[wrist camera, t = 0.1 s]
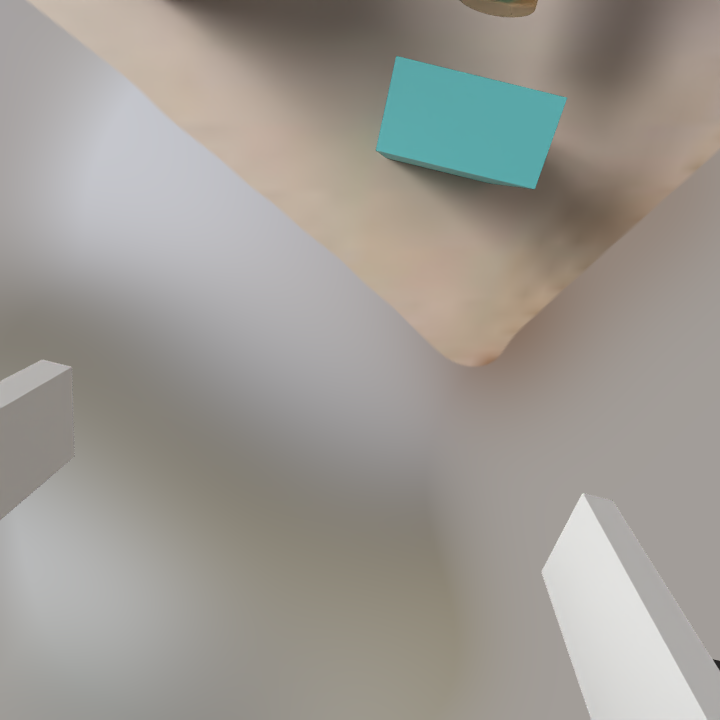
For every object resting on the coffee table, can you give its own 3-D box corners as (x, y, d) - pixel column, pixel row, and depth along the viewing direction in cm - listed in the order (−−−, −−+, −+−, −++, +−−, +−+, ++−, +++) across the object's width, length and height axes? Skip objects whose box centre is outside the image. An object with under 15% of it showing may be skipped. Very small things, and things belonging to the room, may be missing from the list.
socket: (400, 98, 33) (396, 55, 21) (508, 125, 33) (567, 97, 21) (386, 158, 34) (375, 150, 22) (490, 183, 34) (534, 189, 22)
